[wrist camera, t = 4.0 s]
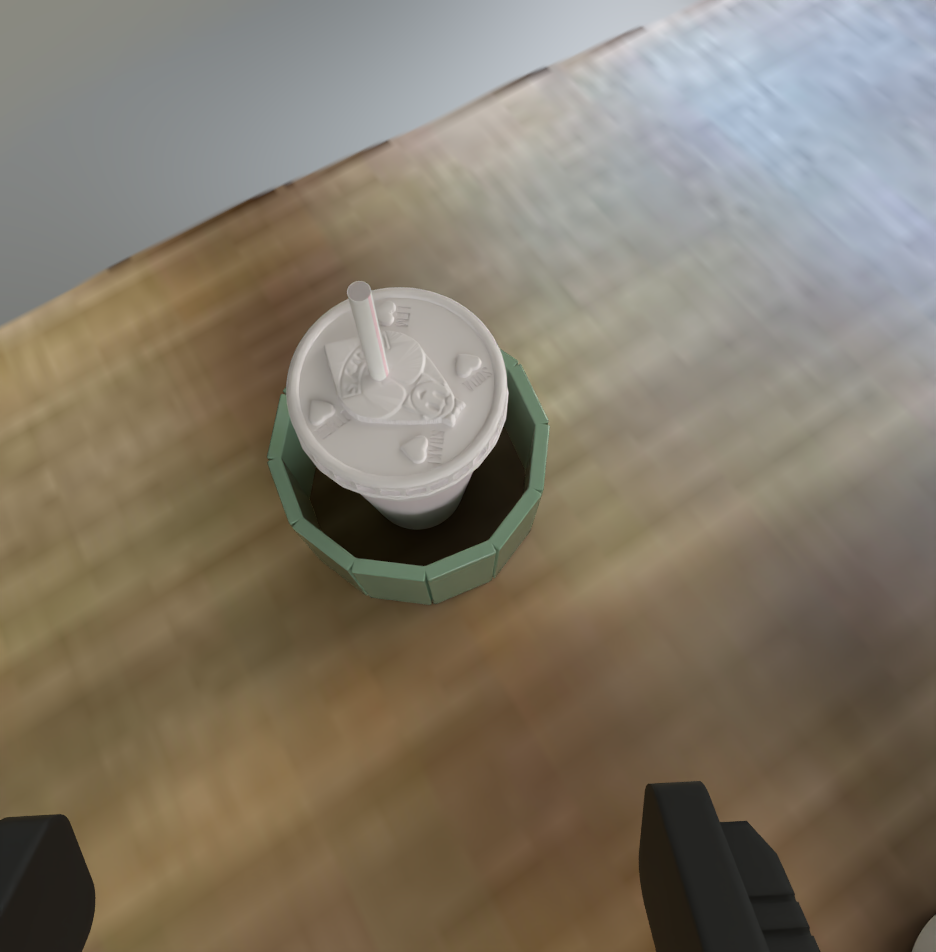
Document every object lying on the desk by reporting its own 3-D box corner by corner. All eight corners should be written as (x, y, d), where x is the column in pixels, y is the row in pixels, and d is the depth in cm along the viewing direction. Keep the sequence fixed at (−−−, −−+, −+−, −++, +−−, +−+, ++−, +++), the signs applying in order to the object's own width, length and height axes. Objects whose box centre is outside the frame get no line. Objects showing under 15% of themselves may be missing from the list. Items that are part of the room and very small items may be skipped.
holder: (479, 347, 33) (481, 283, 28) (574, 546, 30) (593, 512, 25) (269, 427, 32) (234, 374, 27) (348, 641, 29) (325, 623, 24)
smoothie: (389, 386, 32) (333, 146, 19) (525, 454, 31) (567, 253, 18) (308, 516, 31) (184, 352, 17) (449, 593, 30) (433, 482, 16)
